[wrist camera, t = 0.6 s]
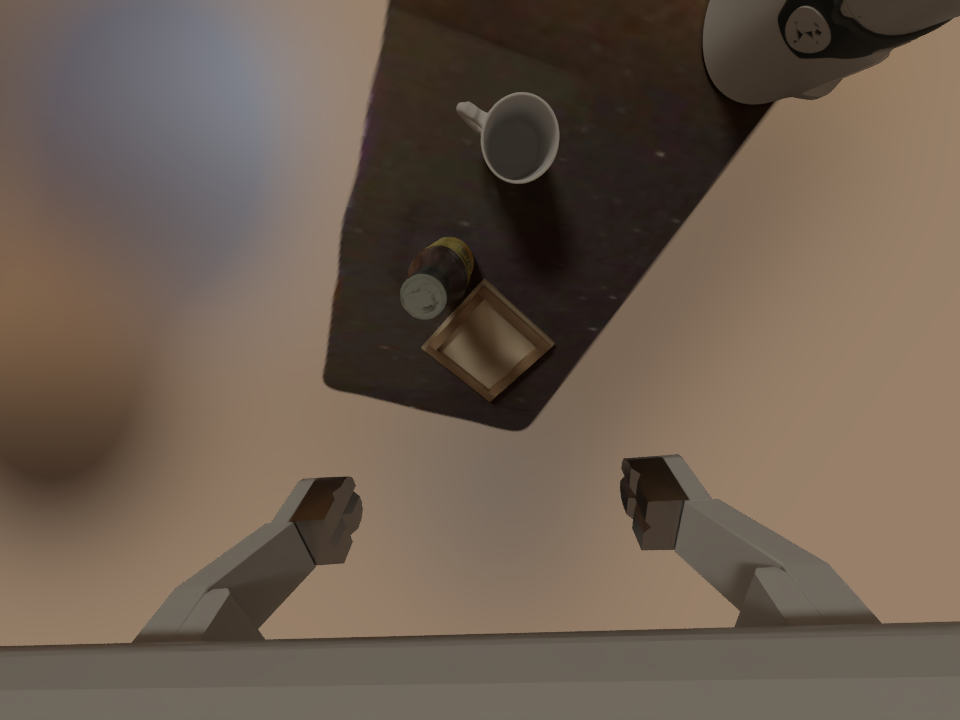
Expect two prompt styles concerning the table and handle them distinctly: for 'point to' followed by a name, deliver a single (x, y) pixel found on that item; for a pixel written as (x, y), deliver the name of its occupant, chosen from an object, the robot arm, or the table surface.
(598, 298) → the table surface
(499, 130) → the mug
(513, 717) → the robot arm
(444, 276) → the sauce bottle
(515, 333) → the seat plate
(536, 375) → the table surface
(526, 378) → the table surface
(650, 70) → the table surface
